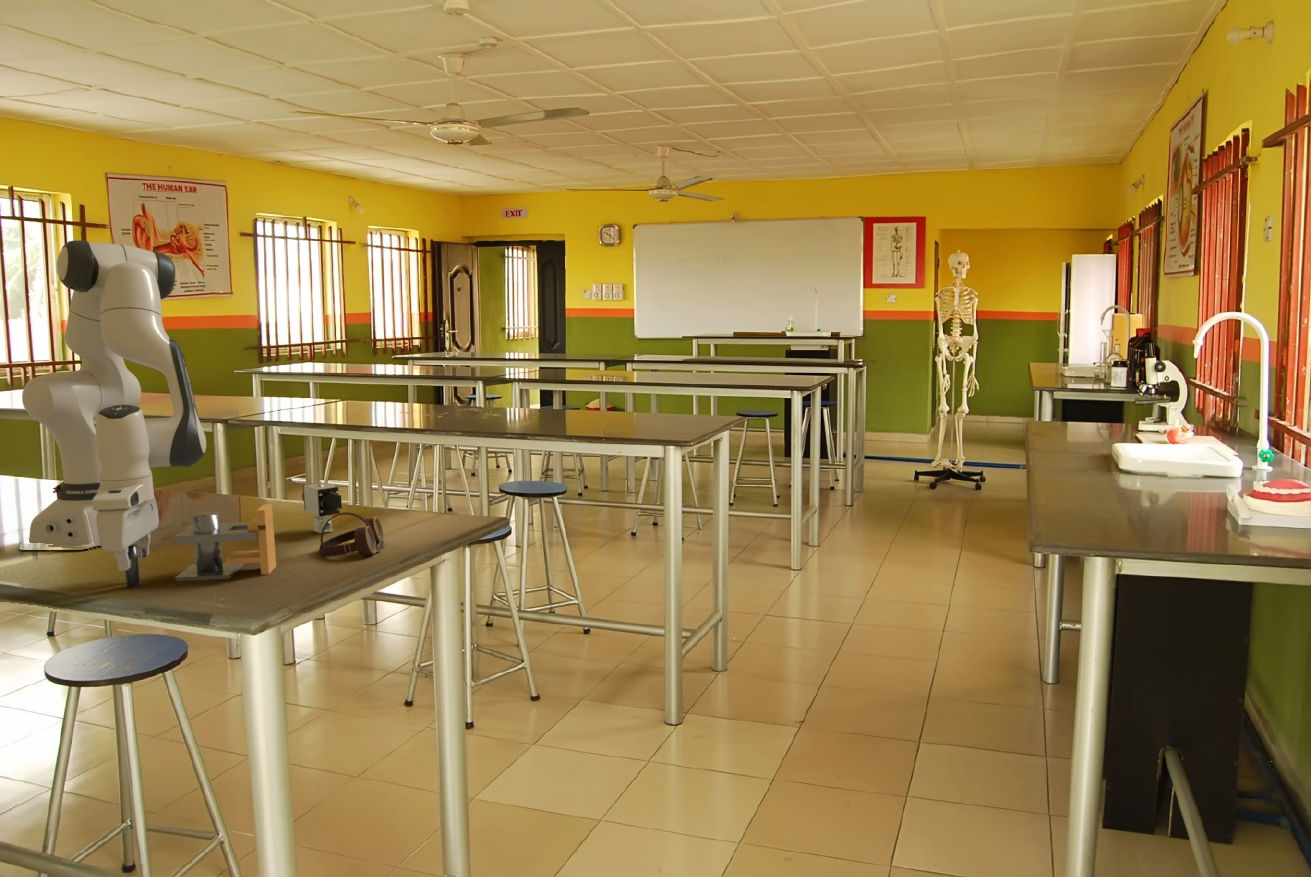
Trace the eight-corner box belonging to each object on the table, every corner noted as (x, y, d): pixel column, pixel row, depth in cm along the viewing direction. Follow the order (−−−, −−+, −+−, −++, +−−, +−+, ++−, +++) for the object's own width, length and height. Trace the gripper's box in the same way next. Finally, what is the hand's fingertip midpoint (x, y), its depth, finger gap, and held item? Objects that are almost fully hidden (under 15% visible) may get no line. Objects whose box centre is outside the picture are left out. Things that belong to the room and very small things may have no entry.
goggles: (377, 558, 209) (363, 512, 207) (316, 574, 208) (302, 529, 207) (390, 540, 224) (377, 498, 223) (333, 555, 224) (320, 512, 222)
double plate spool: (175, 581, 194) (170, 521, 193) (192, 567, 204) (187, 510, 203) (258, 577, 196) (254, 517, 195) (271, 563, 206) (266, 506, 205)
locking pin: (124, 588, 190) (120, 547, 189) (129, 584, 193) (125, 544, 192) (137, 587, 191) (133, 546, 189) (142, 584, 193) (138, 543, 192)
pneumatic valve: (324, 537, 228) (320, 486, 227) (303, 529, 237) (299, 479, 235) (347, 533, 232) (343, 482, 230) (325, 525, 241) (322, 476, 239)
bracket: (226, 576, 198) (221, 511, 196) (235, 568, 203) (230, 505, 202) (269, 574, 199) (264, 510, 197) (276, 566, 204) (271, 503, 203)
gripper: (130, 482, 199) (137, 550, 201) (87, 503, 179) (95, 578, 181) (163, 481, 200) (170, 548, 202) (125, 501, 180) (132, 576, 182)
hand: (134, 563), depth 191 cm, fingers open, 8 cm apart
